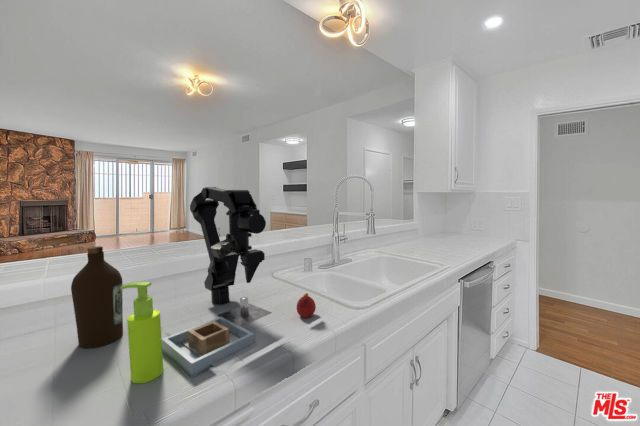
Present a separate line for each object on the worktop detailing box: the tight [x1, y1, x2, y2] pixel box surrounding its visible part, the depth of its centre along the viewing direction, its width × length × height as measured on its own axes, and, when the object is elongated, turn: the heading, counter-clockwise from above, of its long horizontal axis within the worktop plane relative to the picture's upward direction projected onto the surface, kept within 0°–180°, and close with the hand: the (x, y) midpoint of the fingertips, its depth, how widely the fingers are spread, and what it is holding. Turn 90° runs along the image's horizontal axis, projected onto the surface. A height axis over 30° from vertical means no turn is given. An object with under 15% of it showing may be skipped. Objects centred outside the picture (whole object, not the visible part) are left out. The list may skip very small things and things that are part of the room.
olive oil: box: [70, 245, 124, 349], centre depth 74 cm, size 11×11×25 cm
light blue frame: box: [162, 316, 256, 378], centre depth 70 cm, size 16×16×3 cm
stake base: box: [216, 296, 273, 327], centre depth 87 cm, size 12×12×6 cm
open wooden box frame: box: [188, 321, 230, 356], centre depth 70 cm, size 7×7×4 cm
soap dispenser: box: [120, 281, 164, 384], centre depth 59 cm, size 6×7×20 cm
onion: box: [296, 292, 316, 319], centre depth 85 cm, size 6×6×8 cm
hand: (240, 279), depth 88 cm, fingers open, 9 cm apart
